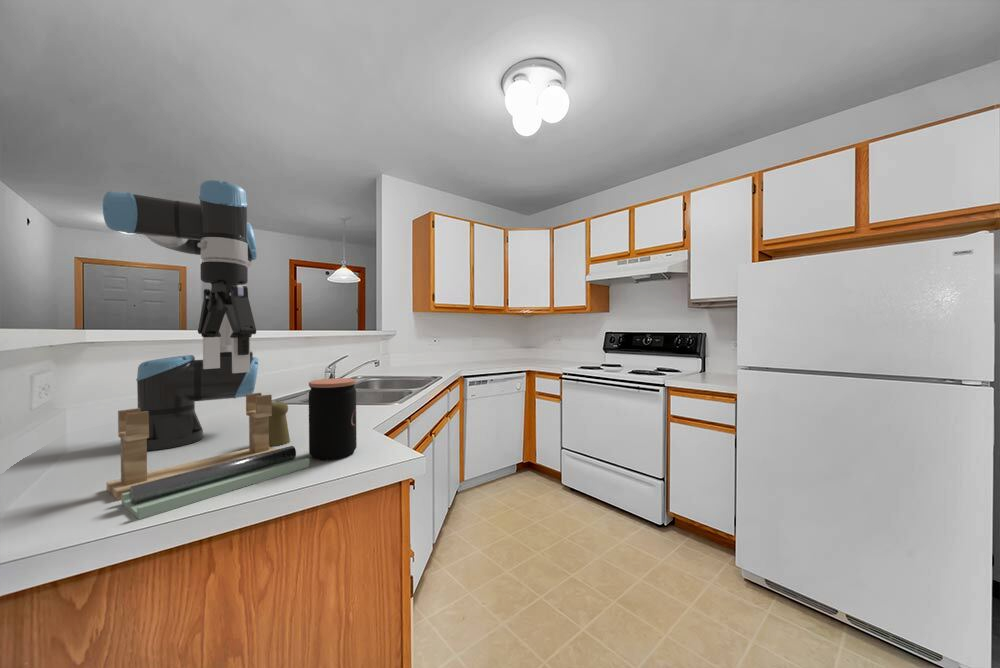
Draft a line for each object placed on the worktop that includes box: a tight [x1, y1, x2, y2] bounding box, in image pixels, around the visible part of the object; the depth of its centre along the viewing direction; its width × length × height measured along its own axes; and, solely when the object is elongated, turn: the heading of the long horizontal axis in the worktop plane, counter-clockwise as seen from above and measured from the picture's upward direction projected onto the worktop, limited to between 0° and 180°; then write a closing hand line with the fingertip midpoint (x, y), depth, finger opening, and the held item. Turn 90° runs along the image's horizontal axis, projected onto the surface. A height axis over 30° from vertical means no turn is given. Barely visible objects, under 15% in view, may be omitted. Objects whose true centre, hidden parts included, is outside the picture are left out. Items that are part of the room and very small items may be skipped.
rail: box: [129, 445, 297, 504], centre depth 75 cm, size 27×3×3 cm
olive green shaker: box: [269, 401, 291, 447], centre depth 101 cm, size 6×6×11 cm
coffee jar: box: [308, 377, 358, 461], centre depth 92 cm, size 11×11×18 cm
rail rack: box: [106, 392, 278, 501], centre depth 81 cm, size 8×28×15 cm, turn 146°
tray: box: [121, 457, 310, 521], centre depth 75 cm, size 10×28×2 cm, turn 146°
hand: (225, 370), depth 74 cm, fingers open, 13 cm apart
